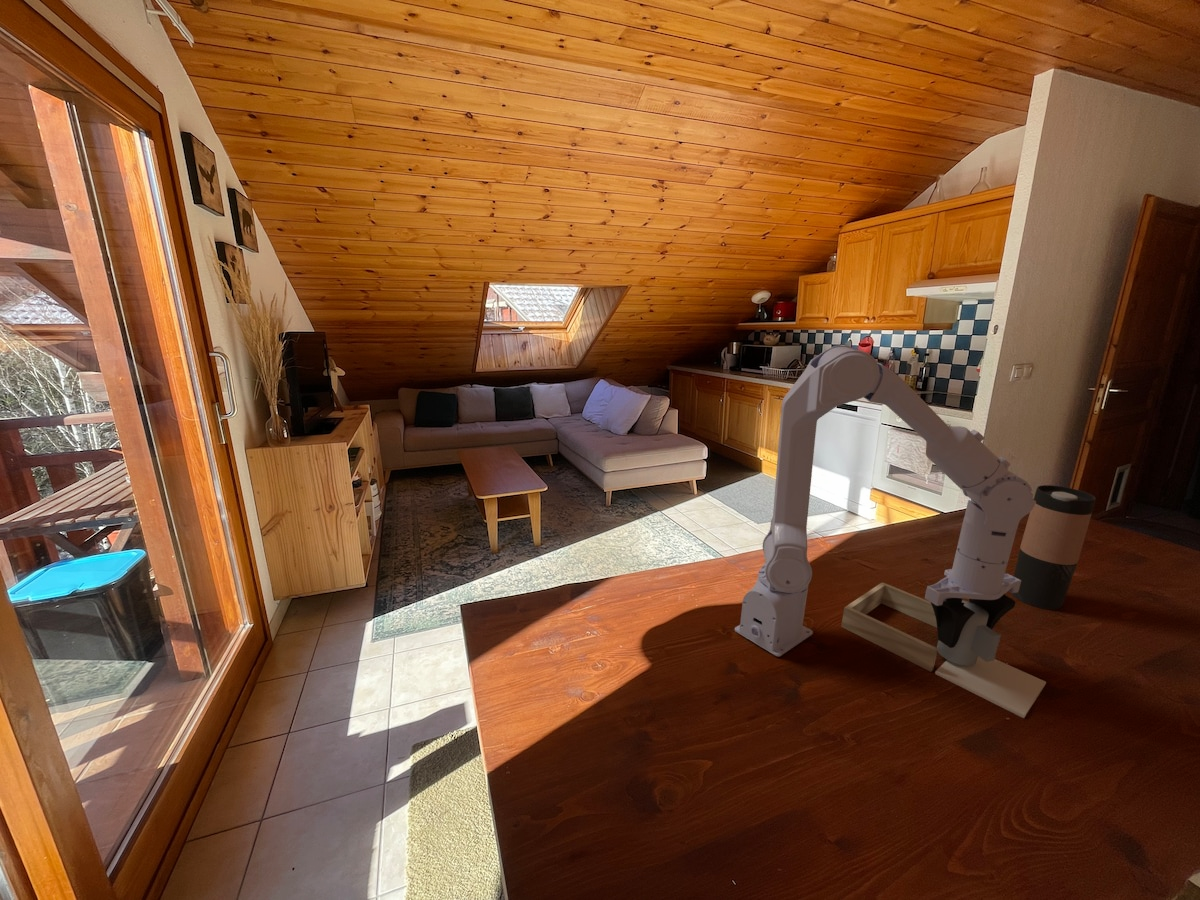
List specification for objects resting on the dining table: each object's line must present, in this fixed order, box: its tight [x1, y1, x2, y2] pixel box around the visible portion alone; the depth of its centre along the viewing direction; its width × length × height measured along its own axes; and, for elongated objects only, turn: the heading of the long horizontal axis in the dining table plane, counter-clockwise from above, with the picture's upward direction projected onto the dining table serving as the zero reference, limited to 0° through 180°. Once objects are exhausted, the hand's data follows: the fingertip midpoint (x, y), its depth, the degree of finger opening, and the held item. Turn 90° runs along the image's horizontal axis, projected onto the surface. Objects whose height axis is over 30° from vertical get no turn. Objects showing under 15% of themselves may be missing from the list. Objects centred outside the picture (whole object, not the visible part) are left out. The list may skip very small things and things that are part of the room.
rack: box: [841, 582, 938, 672], centre depth 80 cm, size 13×13×4 cm
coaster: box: [934, 656, 1047, 719], centre depth 71 cm, size 10×10×1 cm
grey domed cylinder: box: [936, 599, 1002, 666], centre depth 72 cm, size 7×5×8 cm
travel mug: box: [1011, 484, 1097, 611], centre depth 88 cm, size 8×8×20 cm
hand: (960, 640), depth 73 cm, fingers closed on grey domed cylinder, 5 cm apart
